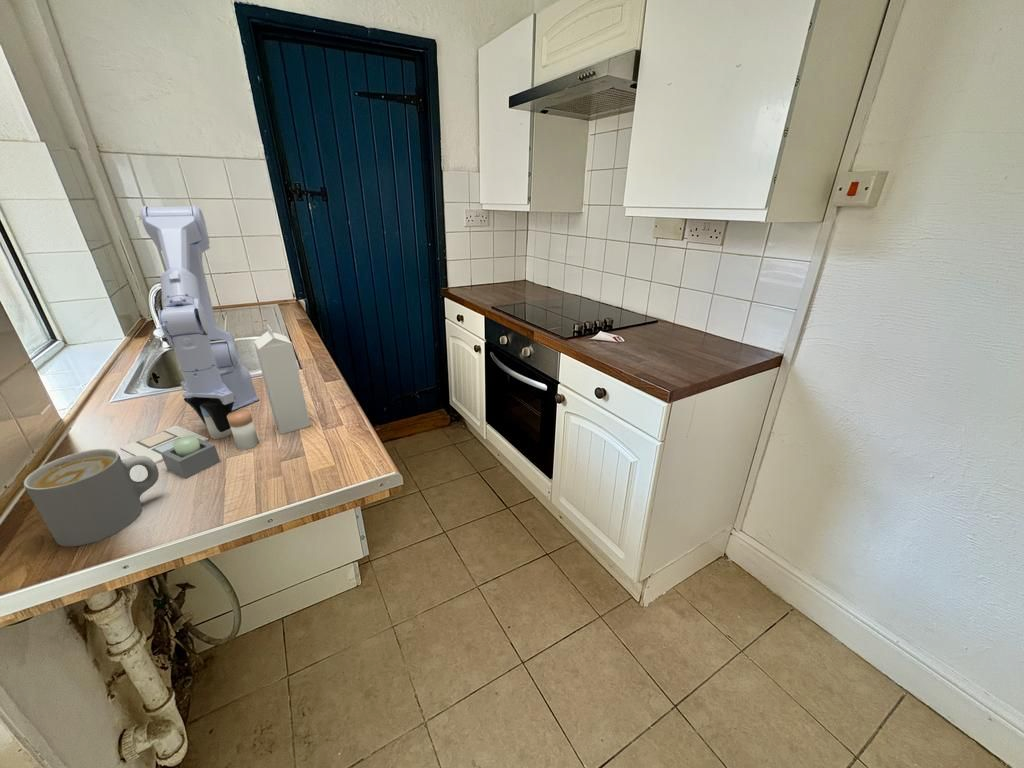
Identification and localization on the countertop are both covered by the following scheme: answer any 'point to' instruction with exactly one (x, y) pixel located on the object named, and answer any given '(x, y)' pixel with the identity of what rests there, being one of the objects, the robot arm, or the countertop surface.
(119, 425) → the countertop surface
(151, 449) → the sheet
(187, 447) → the button
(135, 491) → the coffee mug
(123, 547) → the countertop surface
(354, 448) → the countertop surface
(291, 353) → the milk
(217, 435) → the cylinder
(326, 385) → the countertop surface
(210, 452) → the button housing
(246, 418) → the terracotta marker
